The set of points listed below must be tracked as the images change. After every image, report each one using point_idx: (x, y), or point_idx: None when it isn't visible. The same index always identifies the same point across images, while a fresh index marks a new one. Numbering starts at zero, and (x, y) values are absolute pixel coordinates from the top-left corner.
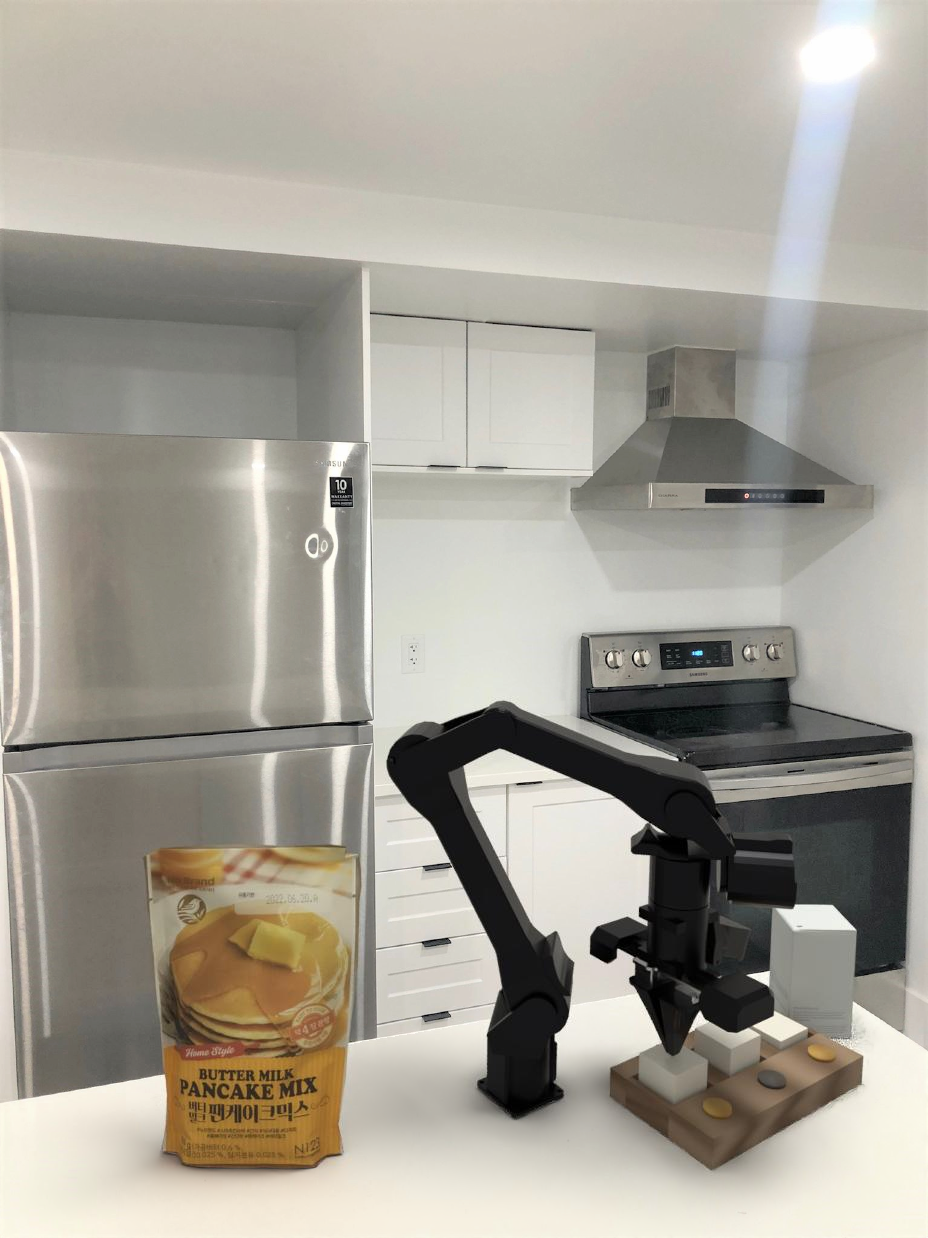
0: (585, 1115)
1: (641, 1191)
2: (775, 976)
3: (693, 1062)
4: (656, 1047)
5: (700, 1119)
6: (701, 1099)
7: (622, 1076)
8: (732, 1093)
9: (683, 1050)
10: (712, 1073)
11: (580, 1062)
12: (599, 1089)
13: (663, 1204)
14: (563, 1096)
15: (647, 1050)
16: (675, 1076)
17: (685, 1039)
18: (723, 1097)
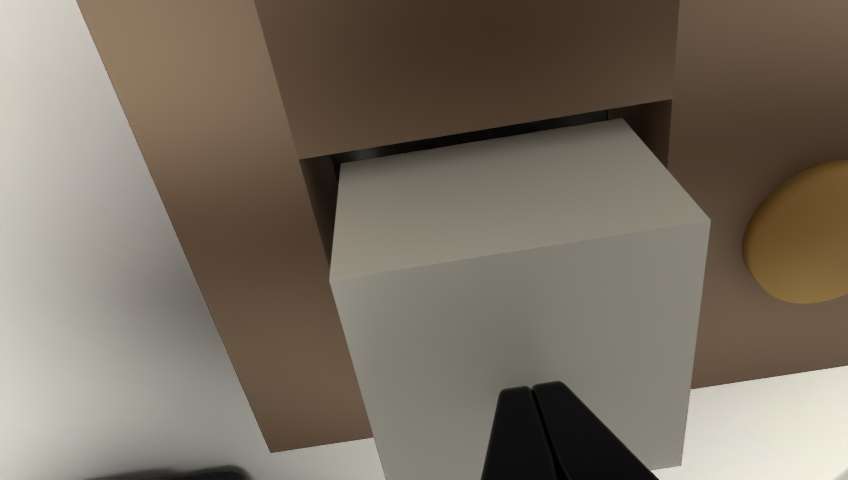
0: (354, 450)
1: (715, 463)
2: None
3: (659, 319)
4: (386, 416)
5: (795, 330)
6: (708, 245)
7: (352, 439)
8: (801, 49)
9: (508, 298)
10: (574, 16)
11: (12, 339)
12: (229, 358)
13: (789, 443)
14: (243, 477)
15: (394, 471)
16: (680, 460)
17: (636, 458)
18: (781, 126)
